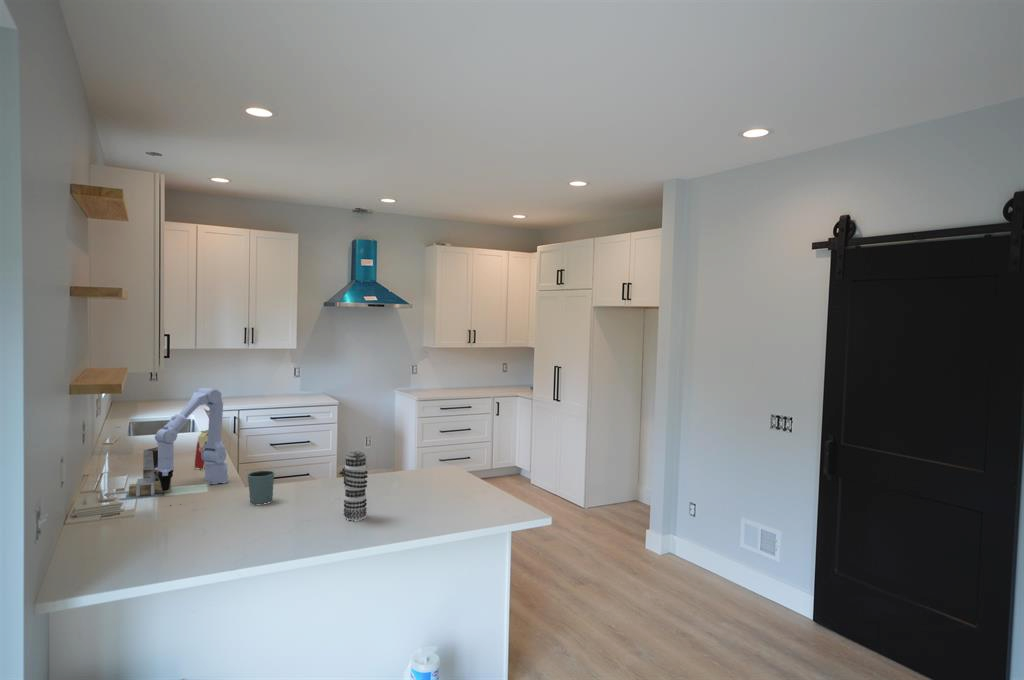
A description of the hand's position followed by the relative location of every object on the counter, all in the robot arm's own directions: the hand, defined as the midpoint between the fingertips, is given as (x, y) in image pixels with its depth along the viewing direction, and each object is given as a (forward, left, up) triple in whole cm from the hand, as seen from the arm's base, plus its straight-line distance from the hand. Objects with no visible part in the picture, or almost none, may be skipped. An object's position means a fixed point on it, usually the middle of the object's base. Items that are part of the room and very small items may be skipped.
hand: (165, 489), depth 259 cm
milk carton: (-17, -46, -3) cm, 49 cm away
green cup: (-35, +27, -3) cm, 44 cm away
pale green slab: (+3, 0, -3) cm, 4 cm away
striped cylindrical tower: (-65, +63, -3) cm, 90 cm away
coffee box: (+4, -22, -3) cm, 23 cm away
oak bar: (+6, 0, -1) cm, 6 cm away
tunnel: (+7, 0, -1) cm, 7 cm away
